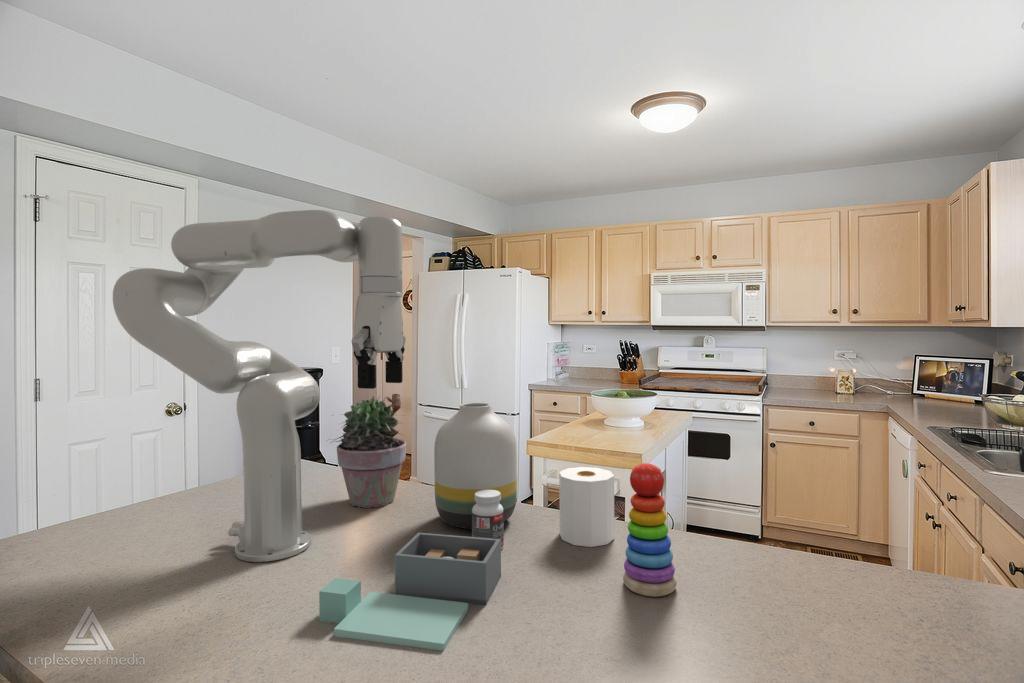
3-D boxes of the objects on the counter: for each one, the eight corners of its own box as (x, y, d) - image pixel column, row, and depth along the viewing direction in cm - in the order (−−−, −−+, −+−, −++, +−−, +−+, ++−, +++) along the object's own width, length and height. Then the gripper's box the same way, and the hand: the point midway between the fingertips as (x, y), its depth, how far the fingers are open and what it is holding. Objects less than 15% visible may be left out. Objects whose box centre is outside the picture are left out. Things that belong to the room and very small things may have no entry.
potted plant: (327, 493, 130) (325, 390, 129) (409, 487, 135) (408, 388, 134) (319, 518, 112) (317, 400, 112) (413, 510, 117) (412, 396, 117)
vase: (534, 521, 110) (533, 405, 109) (466, 543, 99) (465, 413, 98) (484, 502, 123) (483, 397, 122) (419, 519, 112) (418, 404, 111)
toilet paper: (608, 550, 95) (608, 483, 95) (552, 542, 99) (552, 477, 99) (618, 530, 105) (618, 469, 104) (567, 523, 108) (567, 464, 108)
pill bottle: (499, 555, 93) (499, 499, 93) (468, 553, 94) (467, 497, 94) (506, 542, 99) (506, 489, 99) (476, 540, 100) (476, 487, 100)
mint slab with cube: (306, 632, 70) (306, 602, 70) (346, 595, 80) (346, 568, 80) (444, 651, 66) (443, 619, 66) (468, 610, 75) (468, 582, 75)
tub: (395, 595, 80) (394, 555, 79) (418, 568, 88) (418, 532, 88) (486, 604, 77) (485, 563, 76) (501, 576, 85) (500, 539, 85)
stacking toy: (677, 578, 84) (677, 460, 84) (675, 603, 77) (675, 473, 76) (626, 571, 87) (626, 456, 86) (619, 594, 79) (619, 468, 79)
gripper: (384, 292, 104) (385, 380, 104) (333, 285, 87) (334, 390, 87) (420, 291, 102) (421, 381, 102) (375, 284, 85) (376, 391, 86)
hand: (381, 385), depth 95 cm, fingers open, 9 cm apart
